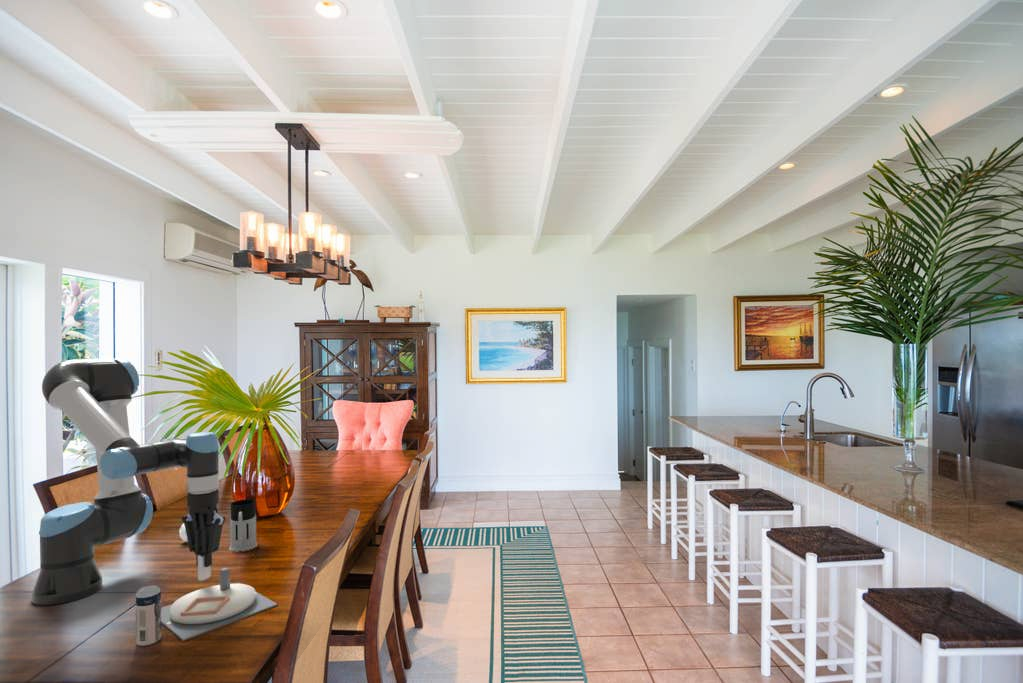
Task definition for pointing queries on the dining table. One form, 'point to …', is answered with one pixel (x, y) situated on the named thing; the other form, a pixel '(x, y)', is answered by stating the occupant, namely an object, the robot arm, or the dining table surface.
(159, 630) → the blue and white canister
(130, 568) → the dining table surface
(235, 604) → the turntable
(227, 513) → the dining table surface
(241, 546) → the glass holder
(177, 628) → the plate
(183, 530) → the geometric ball
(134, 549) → the dining table surface
